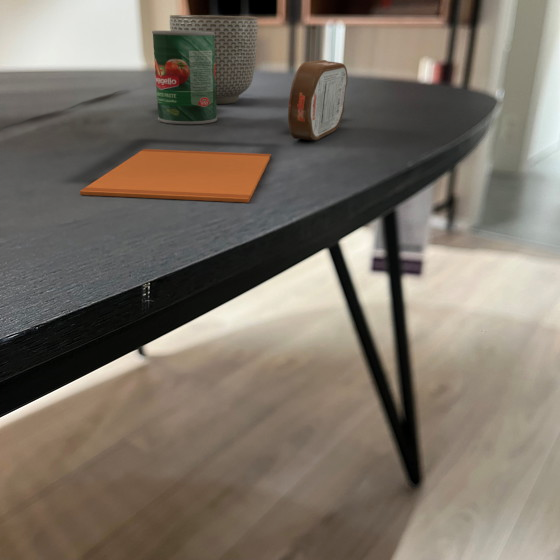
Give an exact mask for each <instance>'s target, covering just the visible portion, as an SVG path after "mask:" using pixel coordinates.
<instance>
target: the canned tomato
mask: <svg viewBox="0 0 560 560" xmlns="http://www.w3.org/2000/svg"><path fill="white" fill-rule="evenodd" d="M151 34H152V45H153V57H154V59H153V60H154V74H155V87H156V88H155V89H156V102H157V103H156V105H157V113H158V114H157V120H158V122H160V123H163V124H164V123H165V124H169V125H170V124H171V125H204V124H205V125H207V124H212V123H216V122H217V120H218V117H217V104H216V79H215V75H216V73H215V43H214V35H215V33H214V32H201V31H170V30H151Z"/></svg>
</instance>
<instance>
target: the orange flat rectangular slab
mask: <svg viewBox="0 0 560 560" xmlns="http://www.w3.org/2000/svg"><path fill="white" fill-rule="evenodd" d="M271 156H272V154H271V153H252V152H250V153H249V152H225V151H200V150H177V149H175V150H174V149H154V148H153V149H152V148H151V149H150V148H143V149H141V150H140V151H138V152H137V153H136V154H134V155H132V156H131V157H129V158H128V159H127V160H125V161H123V162H122V163H120V164H119V165H118V166H116V167H114V168H113V169H111V170H109V171H108V172H107V173H105V174H104V175H102V176H101V177H99V178H98V179H96V180H95V181H93V182H92V183H89V185H87V186H85V187H83V188H82V189H81V190H79V195H80V196H101V197H121V198H140V199H141V198H143V199H162V200H181V201H182V200H183V201H204V202H224V203H225V202H227V203H245V204H246V203H247V204H249V203H250V201H251V199H252V196H253V195H254V193H255V191H256V188H257V187H258V184H259V183H260V180H261V178H262V176H263V174H264V172H265V170H266V168H267V166H268V164H269V162H270V160H271Z"/></svg>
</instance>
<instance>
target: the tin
mask: <svg viewBox="0 0 560 560" xmlns="http://www.w3.org/2000/svg"><path fill="white" fill-rule="evenodd" d="M348 79H349V78H348V69H347V67H346V65H345V64H344V63H341V62H338V61H329V60H326V59H322V60H312V61H304V62H303V63H301V64H300V65H299V67H298V68H297V70H296V72H295V75H294V77H293V79H292V83H291V87H290V92H289V99H288V107H287V121H288V129H289V133H290V135H291V137H292V138H293V139H294V140H305V141H311V142H312V141H318V140H320V139H321V138H322V139H323V137H325V136H327V135H330V134H331V133H333V132H335V131H336V130H337V129H338V127H339V126H340V123H341V122H342V118H343V114H344V112H345V111H344V110H345V100H346V99H345V98H346V92H347V87H348V86H347V85H348V81H349V80H348Z"/></svg>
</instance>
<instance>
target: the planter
mask: <svg viewBox="0 0 560 560" xmlns="http://www.w3.org/2000/svg"><path fill="white" fill-rule="evenodd" d="M258 23H259V22H258V18H257V17H256V16H232V15H197V14H196V15H194V14H192V15H191V14H189V15H188V14H170V15H169V31H201V32H214V33H215V35H214V43H215V73H216V75H215V79H216V105H228V104H234V103H237V101H238V100H239V98H240V95H241V94H243V93H245V92H246V91H247V90H248V89H249V88H250V87H251V85H252V82H253V79H254V76H255V75H254V74H255V67H256V59H257V45H258V44H257V43H258V28H259V26H258V25H259V24H258Z"/></svg>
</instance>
